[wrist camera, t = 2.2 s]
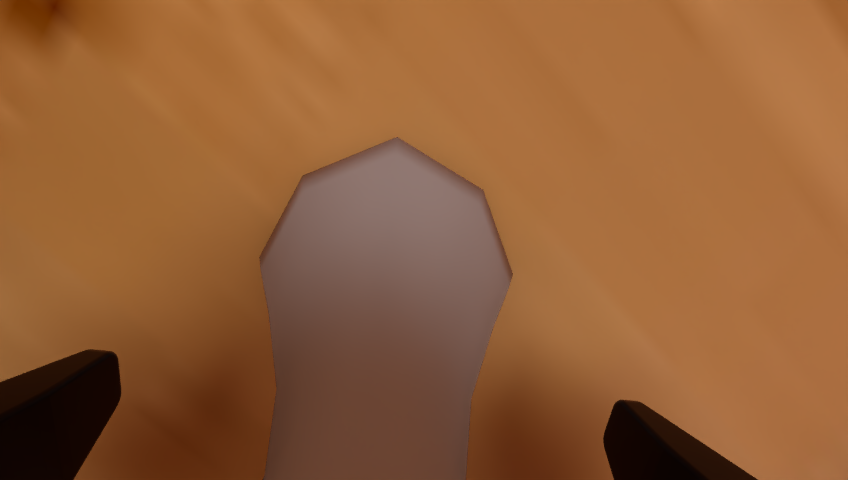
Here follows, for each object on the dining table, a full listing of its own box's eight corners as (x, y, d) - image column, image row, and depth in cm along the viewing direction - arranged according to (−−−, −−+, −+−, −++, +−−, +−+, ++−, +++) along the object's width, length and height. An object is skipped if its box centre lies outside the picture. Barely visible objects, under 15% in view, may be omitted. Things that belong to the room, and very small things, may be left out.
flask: (219, 250, 13) (-234, 654, 4) (400, 87, 12) (375, 108, 3) (379, 398, 15) (335, 897, 6) (550, 273, 14) (847, 667, 5)
